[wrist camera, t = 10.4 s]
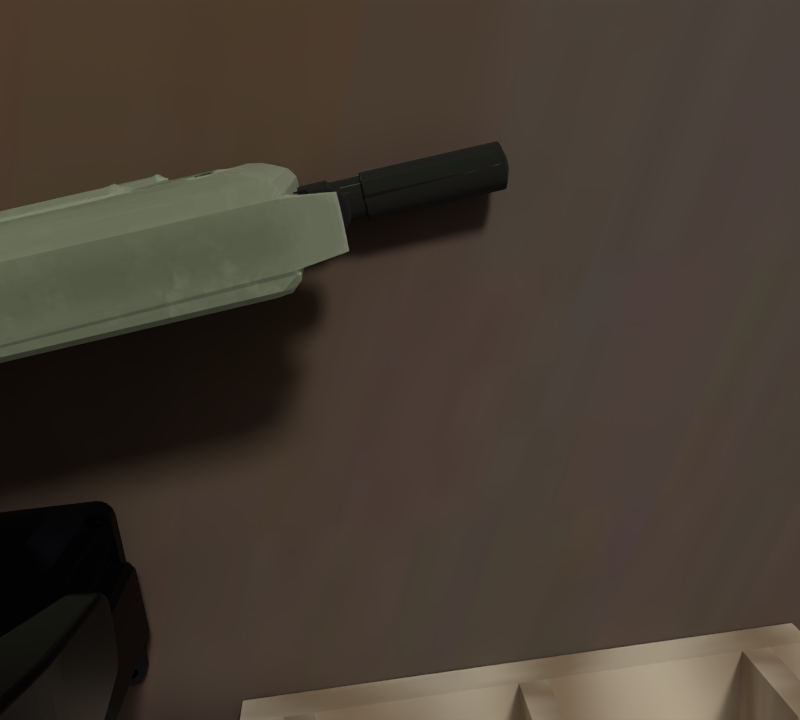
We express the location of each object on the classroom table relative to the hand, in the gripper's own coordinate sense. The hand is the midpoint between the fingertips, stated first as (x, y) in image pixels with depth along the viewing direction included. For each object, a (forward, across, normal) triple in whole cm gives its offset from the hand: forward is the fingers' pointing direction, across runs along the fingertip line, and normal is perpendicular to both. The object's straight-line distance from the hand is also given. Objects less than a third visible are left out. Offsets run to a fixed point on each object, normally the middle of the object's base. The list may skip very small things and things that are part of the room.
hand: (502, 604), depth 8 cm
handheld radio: (+13, +10, -2) cm, 17 cm away
